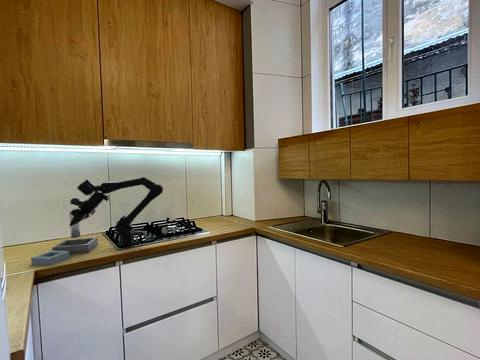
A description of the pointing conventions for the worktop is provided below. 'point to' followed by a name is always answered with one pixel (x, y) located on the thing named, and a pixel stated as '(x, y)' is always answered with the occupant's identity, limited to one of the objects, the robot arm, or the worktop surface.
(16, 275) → the worktop surface
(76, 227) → the stop pin
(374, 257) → the worktop surface
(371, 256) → the worktop surface
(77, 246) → the tray
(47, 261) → the socket block
